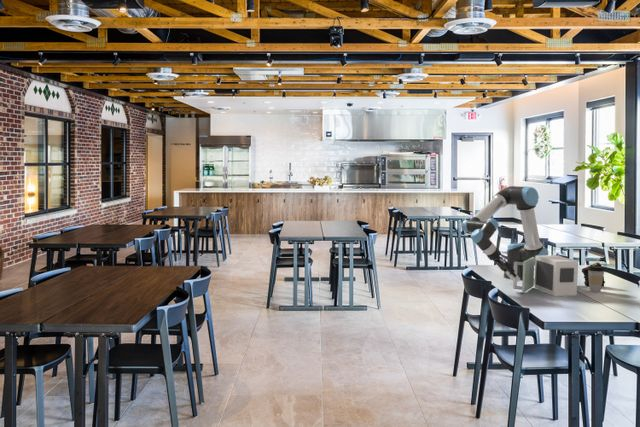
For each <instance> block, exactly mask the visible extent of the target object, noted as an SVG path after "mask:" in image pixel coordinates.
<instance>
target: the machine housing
mask: <svg viewBox="0 0 640 427" xmlns="http://www.w3.org/2000/svg"><path fill="white" fill-rule="evenodd" d="M578 273H579V260H575V259H571V258H567V257H564V256H560V255H557V254H556V255H552V254H551V255H549V254H548V255H540V256H535V265H534V286H533V287H534V289H536V290H539V291H541V292H544V293H546V294H549V295H551V296H555V297H556V296H557V297H558V296H559V297H560V296H577V295H578V292H577V291H578Z"/></svg>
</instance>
